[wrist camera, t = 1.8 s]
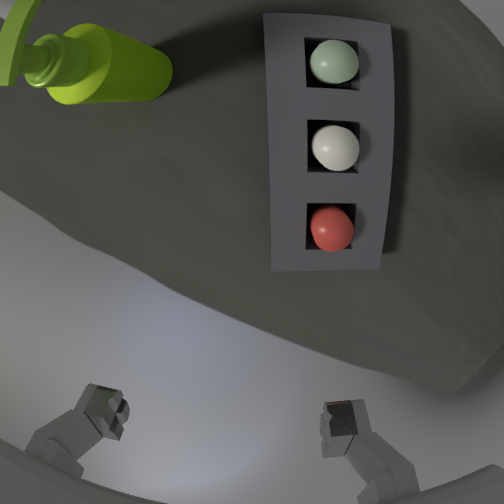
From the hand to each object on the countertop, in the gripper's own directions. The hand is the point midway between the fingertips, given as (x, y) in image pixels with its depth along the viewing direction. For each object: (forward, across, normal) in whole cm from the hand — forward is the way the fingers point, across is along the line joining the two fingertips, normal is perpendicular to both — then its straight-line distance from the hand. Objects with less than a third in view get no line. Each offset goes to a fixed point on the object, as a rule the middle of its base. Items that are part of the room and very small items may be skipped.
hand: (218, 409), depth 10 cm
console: (+24, -8, -8) cm, 26 cm away
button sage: (+22, -8, -16) cm, 28 cm away
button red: (+22, -8, 0) cm, 24 cm away
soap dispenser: (+24, +10, -16) cm, 30 cm away
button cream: (+22, -8, -8) cm, 25 cm away
